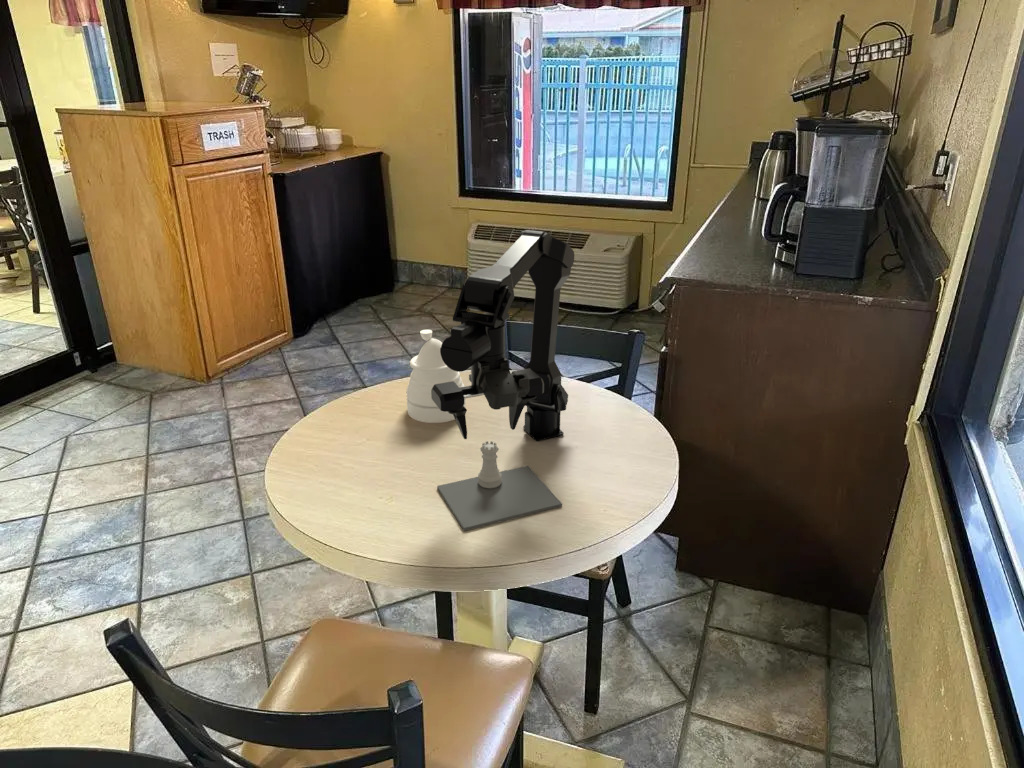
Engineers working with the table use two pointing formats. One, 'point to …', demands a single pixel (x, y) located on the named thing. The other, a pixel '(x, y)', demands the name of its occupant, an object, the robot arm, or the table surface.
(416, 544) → the table surface
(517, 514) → the rubber mat
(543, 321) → the robot arm
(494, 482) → the rook chess piece
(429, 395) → the honey pot
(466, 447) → the table surface
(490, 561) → the table surface
